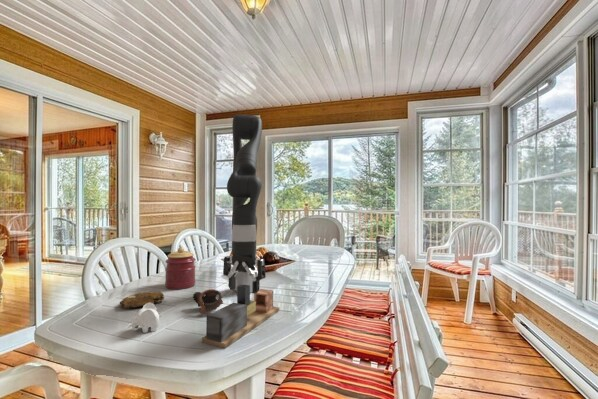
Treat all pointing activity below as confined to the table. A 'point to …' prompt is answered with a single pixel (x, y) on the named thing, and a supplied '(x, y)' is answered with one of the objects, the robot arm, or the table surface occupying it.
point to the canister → (180, 270)
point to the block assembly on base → (238, 320)
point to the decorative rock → (141, 299)
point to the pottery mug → (207, 300)
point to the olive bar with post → (245, 298)
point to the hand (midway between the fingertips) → (243, 291)
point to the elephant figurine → (146, 318)
